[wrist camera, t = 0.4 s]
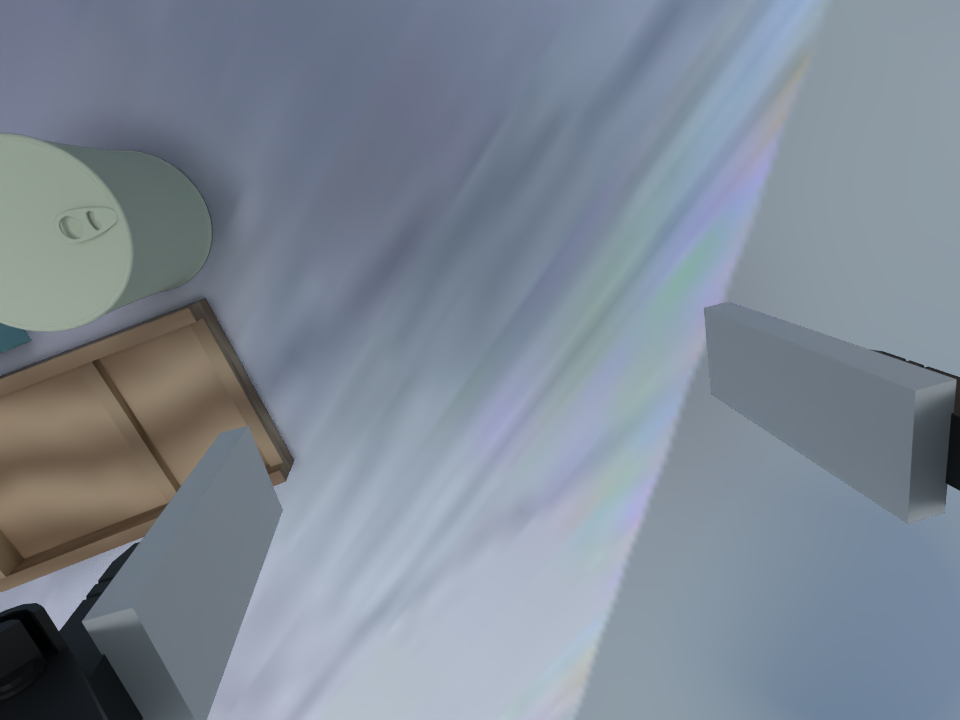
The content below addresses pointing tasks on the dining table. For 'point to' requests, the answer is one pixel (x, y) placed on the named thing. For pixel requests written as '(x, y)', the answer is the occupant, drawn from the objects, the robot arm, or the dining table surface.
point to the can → (91, 231)
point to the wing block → (12, 337)
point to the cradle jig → (117, 437)
